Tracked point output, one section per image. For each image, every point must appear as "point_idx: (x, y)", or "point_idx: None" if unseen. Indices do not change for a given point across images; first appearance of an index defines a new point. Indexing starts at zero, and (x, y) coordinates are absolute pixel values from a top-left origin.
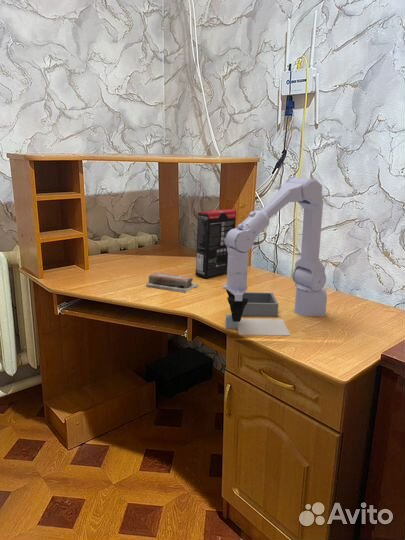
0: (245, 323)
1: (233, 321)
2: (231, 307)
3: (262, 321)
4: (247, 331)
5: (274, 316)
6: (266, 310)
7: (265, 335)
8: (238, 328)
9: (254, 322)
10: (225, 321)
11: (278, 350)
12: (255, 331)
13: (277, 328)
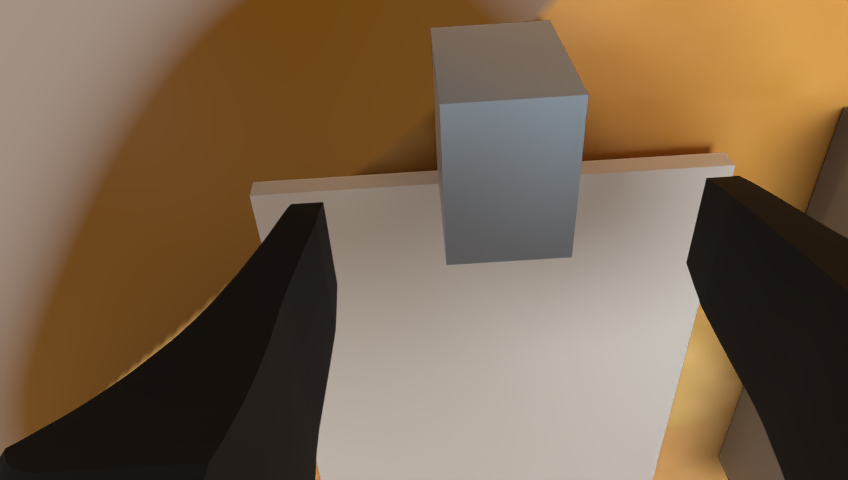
0: (570, 259)
1: (284, 212)
2: (142, 378)
3: (613, 392)
4: (345, 273)
5: (734, 463)
6: (779, 468)
7: None
8: (417, 190)
9: (592, 335)
10: (548, 49)
11: None
12: (358, 336)
13: (452, 472)
